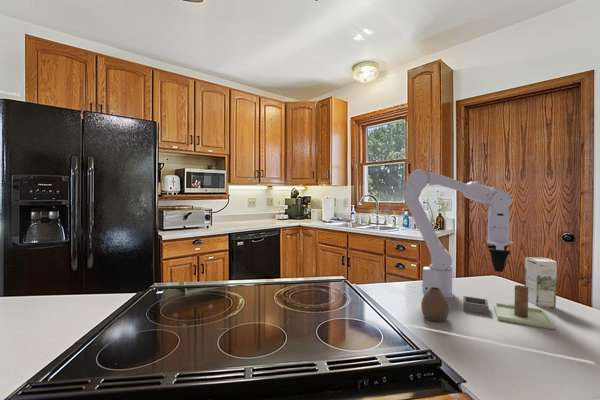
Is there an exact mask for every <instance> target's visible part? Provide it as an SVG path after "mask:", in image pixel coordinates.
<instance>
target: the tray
mask: <svg viewBox="0 0 600 400" xmlns="http://www.w3.org/2000/svg"><path fill="white" fill-rule="evenodd" d="M492 304H493V305H492V306H493V310H494V313H495V316H496V319H497V321H499V322H505V323H506V322H507V323H512V324H518V325H523V326H529V327H535V328H540V329H546V330H553V331H556V325H555V323H554V321H552V319H551V318H550V316H549V315H548V314H547V312H546V311H545V310H544V309H542V308H536V307H529V306H528V317H527V318H522V317H518V316H516V315H514V307H515V304H511V303H510V304H507V303H501V302H496V301H493V302H492Z"/></svg>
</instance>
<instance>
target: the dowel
mask: <svg viewBox="0 0 600 400" xmlns="http://www.w3.org/2000/svg"><path fill="white" fill-rule="evenodd" d="M514 305H515V307H514V315H516V316H518V317H522V318H527V317H528V307H529V302H528V287H525V285H514Z"/></svg>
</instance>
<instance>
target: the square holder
mask: <svg viewBox="0 0 600 400" xmlns="http://www.w3.org/2000/svg"><path fill="white" fill-rule="evenodd" d="M462 297H463V299H462V300H463V301H462V303H463V305H462V307H463V309H462V311H463V312H468V313H469V312H470V313H473V314H481V315H485V316H486V315H487V316H489V311H490V310H489V309H490V308H489V302H488V299H487V298H480V297H474V296H468V295H467V296H466V295H463V296H462Z"/></svg>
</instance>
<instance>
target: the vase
mask: <svg viewBox="0 0 600 400" xmlns="http://www.w3.org/2000/svg"><path fill="white" fill-rule="evenodd" d="M420 307H421V312H422V315H423V316H424V318H425V319H426V320H428V321H431V322H434V323H444V322H445V321H446V320H447V319H448V317H449V314H450V306H449V302H448V299H447V298H446V297H445V296H444V295H443V294H442V293H441V291H440V289H439V288H437V287H431V288H430V290H429V291H428V292H427V293H426V294H425V293H424V296H423V297H422V299H421V305H420Z"/></svg>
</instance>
